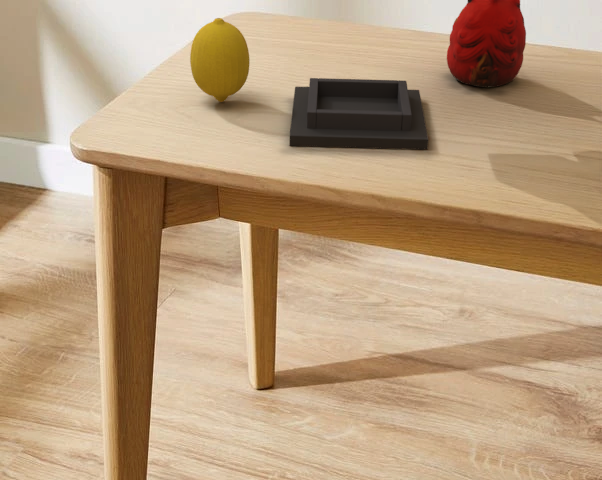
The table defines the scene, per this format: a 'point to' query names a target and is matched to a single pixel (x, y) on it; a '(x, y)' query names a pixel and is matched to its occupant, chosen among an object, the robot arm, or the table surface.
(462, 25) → the red clay folk toy
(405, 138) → the socket pad
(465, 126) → the table surface
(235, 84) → the lemon
